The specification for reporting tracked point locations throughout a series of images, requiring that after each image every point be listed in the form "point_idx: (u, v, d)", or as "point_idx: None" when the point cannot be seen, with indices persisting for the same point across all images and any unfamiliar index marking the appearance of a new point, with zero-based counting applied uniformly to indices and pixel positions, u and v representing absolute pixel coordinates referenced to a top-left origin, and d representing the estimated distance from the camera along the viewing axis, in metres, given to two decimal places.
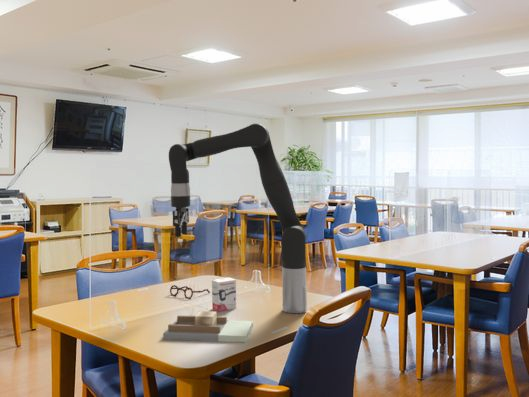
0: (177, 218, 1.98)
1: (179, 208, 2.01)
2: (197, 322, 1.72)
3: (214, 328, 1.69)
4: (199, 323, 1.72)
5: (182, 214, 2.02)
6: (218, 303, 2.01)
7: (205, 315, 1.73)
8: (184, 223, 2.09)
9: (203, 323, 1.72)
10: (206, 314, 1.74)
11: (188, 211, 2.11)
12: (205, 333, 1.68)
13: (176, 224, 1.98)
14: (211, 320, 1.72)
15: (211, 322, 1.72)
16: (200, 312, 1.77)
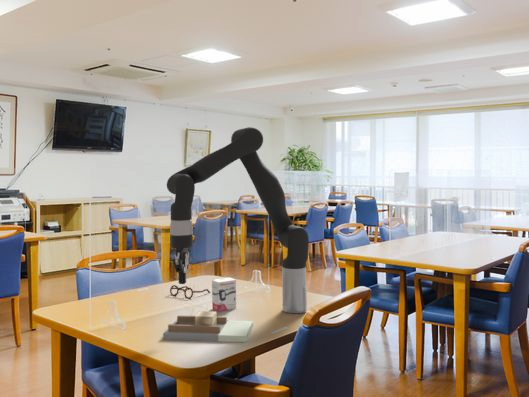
0: (180, 267, 1.70)
1: (180, 249, 1.71)
2: (197, 322, 1.72)
3: (214, 328, 1.69)
4: (199, 323, 1.72)
5: (184, 258, 1.73)
6: (218, 303, 2.01)
7: (205, 315, 1.73)
8: None
9: (203, 323, 1.72)
10: (206, 314, 1.74)
11: (189, 258, 1.80)
12: (205, 333, 1.68)
13: (180, 270, 1.72)
14: (211, 320, 1.72)
15: (211, 322, 1.72)
16: (200, 312, 1.77)
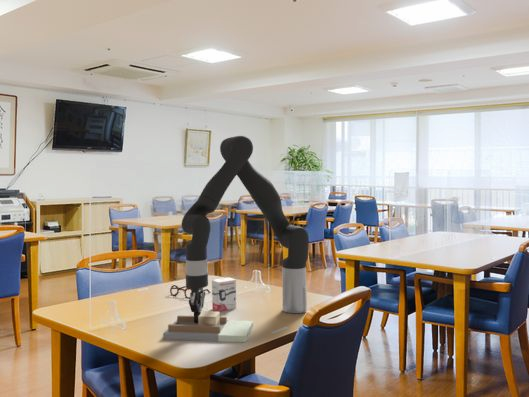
0: (195, 307, 1.71)
1: (195, 290, 1.71)
2: (200, 322, 1.72)
3: (214, 328, 1.69)
4: (202, 323, 1.72)
5: (199, 297, 1.73)
6: (218, 303, 2.01)
7: (209, 315, 1.72)
8: None
9: (206, 323, 1.72)
10: (209, 314, 1.74)
11: (204, 296, 1.80)
12: (205, 333, 1.68)
13: (195, 310, 1.72)
14: (214, 320, 1.71)
15: (214, 322, 1.72)
16: (203, 312, 1.77)
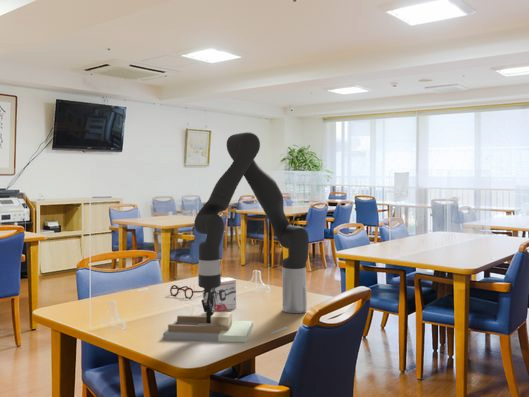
0: (208, 307, 1.70)
1: (208, 289, 1.71)
2: (213, 323, 1.71)
3: (214, 328, 1.69)
4: (214, 324, 1.71)
5: (212, 297, 1.72)
6: (218, 303, 2.01)
7: (221, 316, 1.72)
8: None
9: (219, 324, 1.71)
10: (221, 315, 1.73)
11: (216, 296, 1.80)
12: (205, 333, 1.68)
13: (208, 310, 1.72)
14: (227, 321, 1.71)
15: (227, 323, 1.71)
16: (215, 313, 1.76)
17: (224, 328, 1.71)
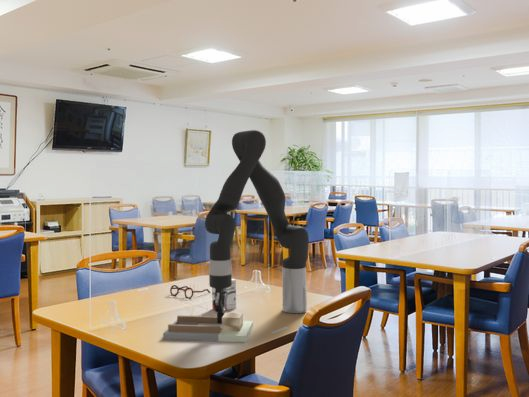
0: (219, 307, 1.69)
1: (219, 290, 1.70)
2: (224, 324, 1.71)
3: (214, 328, 1.69)
4: (226, 325, 1.71)
5: (223, 297, 1.72)
6: None
7: (232, 317, 1.71)
8: None
9: (230, 324, 1.70)
10: (232, 315, 1.73)
11: (227, 296, 1.79)
12: (205, 333, 1.68)
13: (219, 310, 1.71)
14: (238, 321, 1.70)
15: (238, 323, 1.70)
16: (226, 313, 1.75)
17: (235, 329, 1.70)
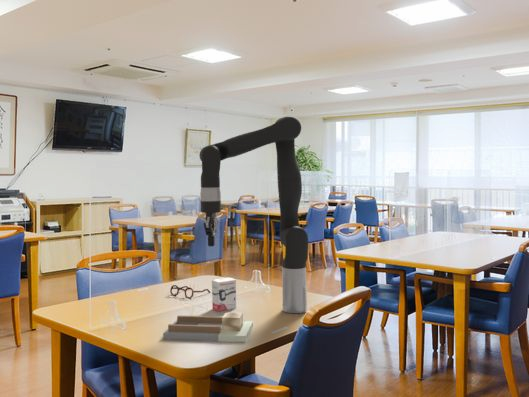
0: (210, 230, 1.87)
1: (210, 214, 1.87)
2: (224, 324, 1.71)
3: (214, 328, 1.69)
4: (226, 325, 1.71)
5: (213, 222, 1.89)
6: (218, 303, 2.01)
7: (233, 317, 1.71)
8: None
9: (230, 324, 1.70)
10: (233, 315, 1.72)
11: None
12: (205, 333, 1.68)
13: (209, 233, 1.88)
14: (238, 321, 1.70)
15: (238, 323, 1.70)
16: (226, 313, 1.75)
17: (235, 329, 1.70)
